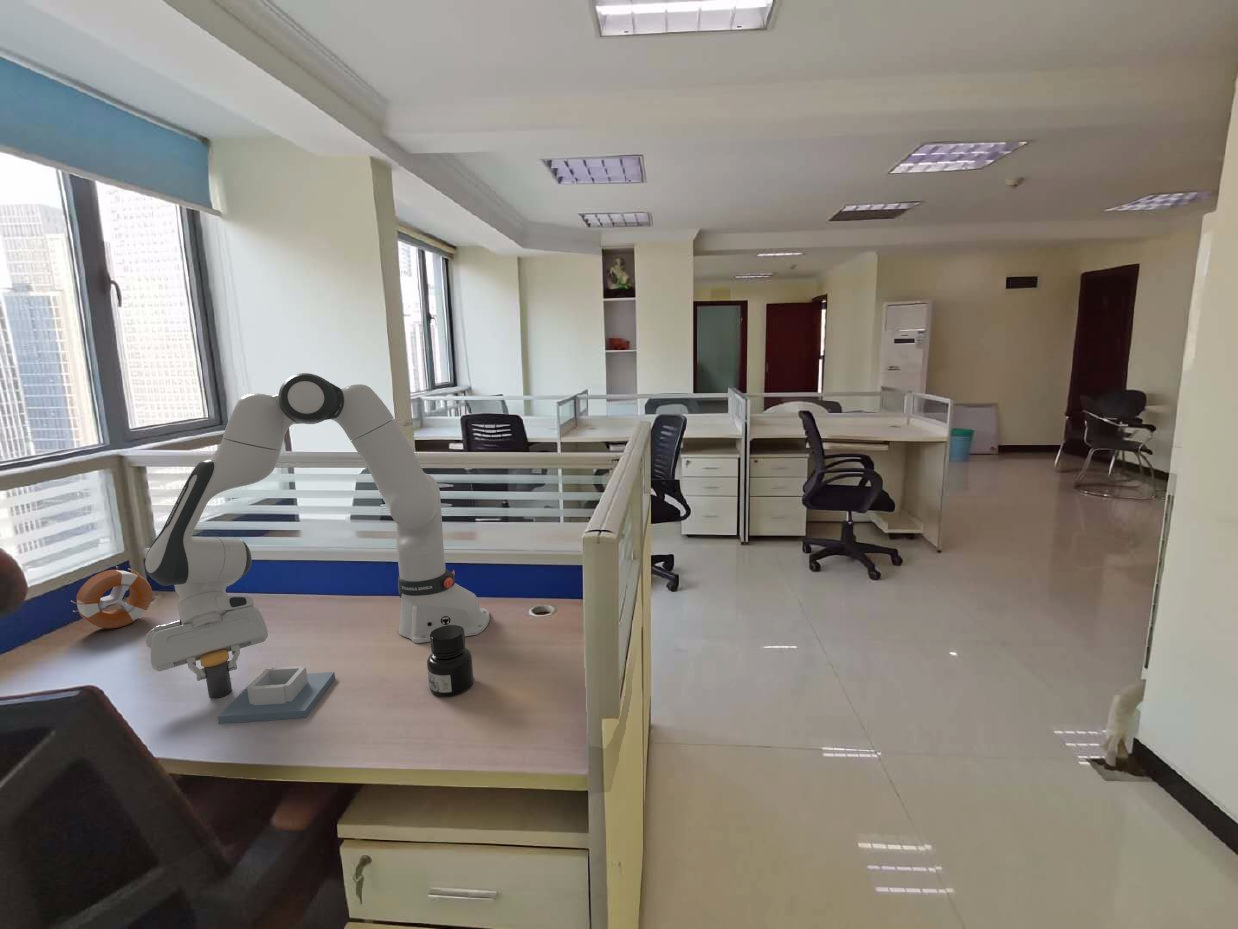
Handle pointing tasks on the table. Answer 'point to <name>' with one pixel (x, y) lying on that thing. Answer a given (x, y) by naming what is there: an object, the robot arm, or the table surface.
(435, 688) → the ink bottle
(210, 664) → the knob
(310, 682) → the mount
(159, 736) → the table surface
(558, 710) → the table surface
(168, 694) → the table surface
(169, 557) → the robot arm
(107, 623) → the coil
